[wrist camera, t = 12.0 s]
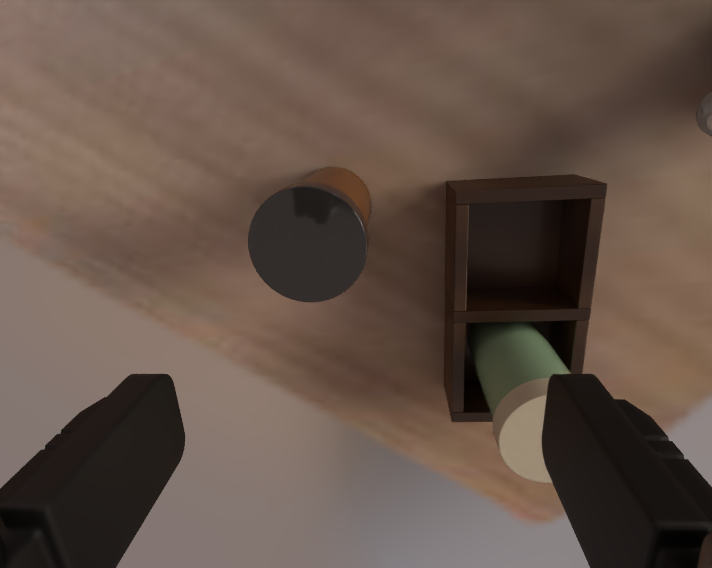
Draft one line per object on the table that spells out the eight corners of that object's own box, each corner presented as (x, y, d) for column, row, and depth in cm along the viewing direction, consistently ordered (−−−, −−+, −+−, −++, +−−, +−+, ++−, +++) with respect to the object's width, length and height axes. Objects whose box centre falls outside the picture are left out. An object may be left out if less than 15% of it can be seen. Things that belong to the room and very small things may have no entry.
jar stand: (446, 181, 30) (455, 191, 26) (575, 174, 29) (607, 183, 25) (443, 385, 35) (451, 422, 31) (553, 384, 35) (576, 421, 30)
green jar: (465, 307, 32) (501, 394, 22) (544, 304, 32) (619, 392, 21) (463, 374, 34) (495, 483, 24) (538, 372, 34) (604, 484, 23)
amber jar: (290, 166, 30) (239, 189, 20) (372, 161, 30) (363, 182, 19) (298, 245, 32) (256, 304, 22) (376, 242, 32) (370, 300, 21)
